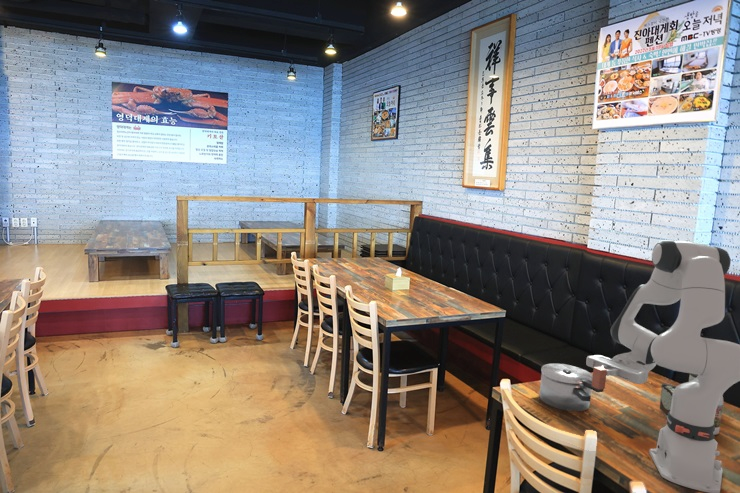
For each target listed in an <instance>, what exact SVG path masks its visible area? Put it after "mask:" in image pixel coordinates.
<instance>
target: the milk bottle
mask: <svg viewBox="0 0 740 493" xmlns="http://www.w3.org/2000/svg"><path fill="white" fill-rule="evenodd" d="M723 396H724V394H723V395H722V396H721V398H720V400H719V402H718V406H717V409H716V414H715V419H714V423H715V434H714V436H716V435H719V432H720V429H721V422H722V415H723V409H724V397H723Z"/></svg>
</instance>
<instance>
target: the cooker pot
mask: <svg viewBox="0 0 740 493" xmlns="http://www.w3.org/2000/svg"><path fill="white" fill-rule="evenodd" d="M538 393H539V394H538V395H539V399H540V400H541V401H542V402H543V403H545V404H546V405H548V406H550V407H552V408H556V409H559V410H562V411H567V412H584V411H587V410H588V409H589V408H590V404H591V397H592V389H590V388H588V387H586V386H584V385H570V384H564V383H560V382H557V381H554V380H552V379H549V378H547V377H546V376H544V375H543V374H542V373H541V376H540V385H539V392H538Z"/></svg>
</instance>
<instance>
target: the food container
mask: <svg viewBox="0 0 740 493" xmlns="http://www.w3.org/2000/svg"><path fill="white" fill-rule="evenodd" d="M677 386H678V385H676V384H675V385H674V384H671V383H668V382H667V383H666V382H662V383H661V385H660V387H661V388H660V389H661V390H660V401H659V410H661V412H662V413H663V414H664V416H665V417H666V418H667V415H668V412H669V411H670V409H671V402H672V396H673V391H674V389H675V388H676V387H677Z"/></svg>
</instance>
